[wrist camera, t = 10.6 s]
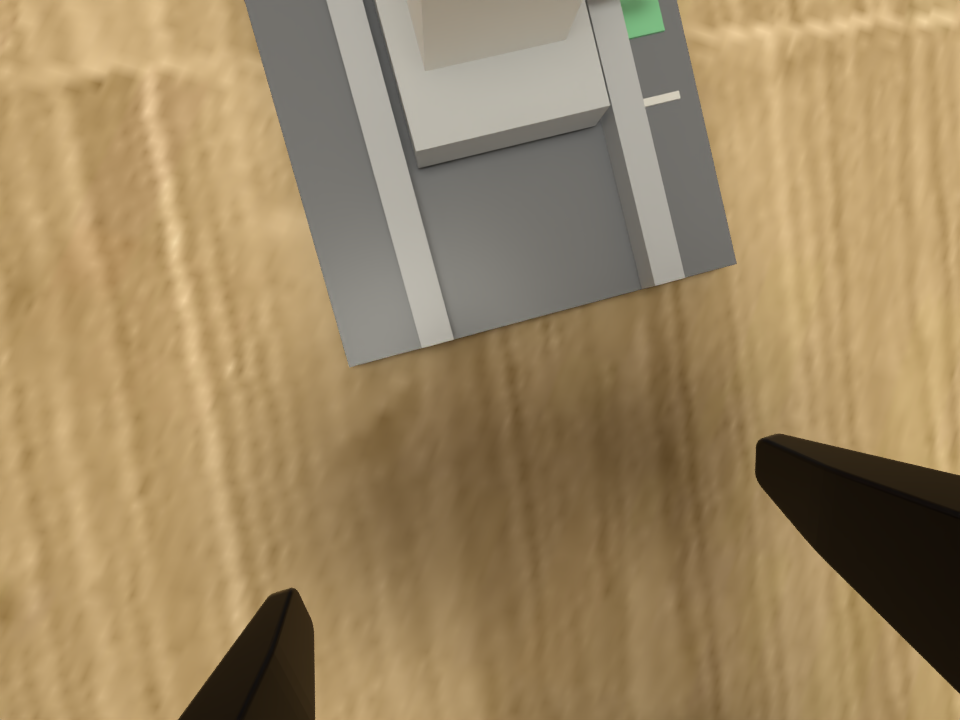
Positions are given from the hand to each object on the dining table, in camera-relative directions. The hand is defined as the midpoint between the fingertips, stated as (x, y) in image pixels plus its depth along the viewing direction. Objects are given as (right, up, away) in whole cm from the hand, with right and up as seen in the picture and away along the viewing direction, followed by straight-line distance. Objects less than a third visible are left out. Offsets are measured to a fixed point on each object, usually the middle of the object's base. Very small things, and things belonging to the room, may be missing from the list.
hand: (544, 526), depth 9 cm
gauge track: (-1, +16, +10) cm, 19 cm away
